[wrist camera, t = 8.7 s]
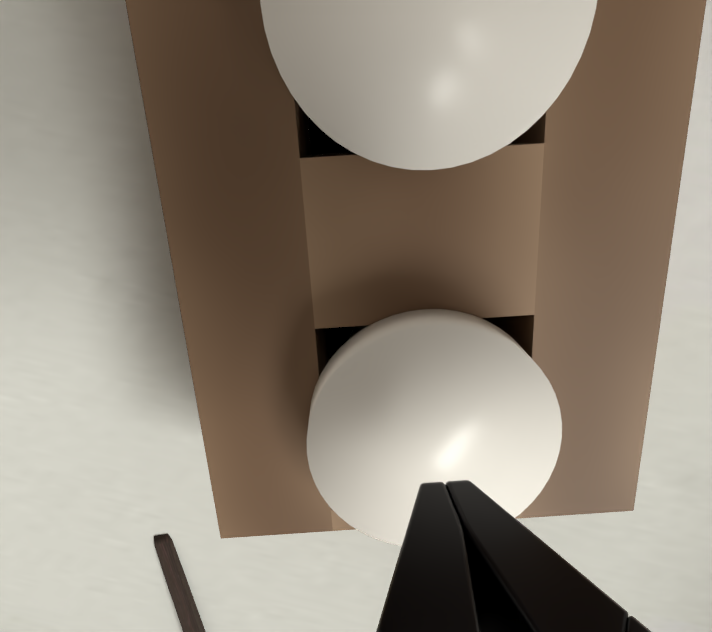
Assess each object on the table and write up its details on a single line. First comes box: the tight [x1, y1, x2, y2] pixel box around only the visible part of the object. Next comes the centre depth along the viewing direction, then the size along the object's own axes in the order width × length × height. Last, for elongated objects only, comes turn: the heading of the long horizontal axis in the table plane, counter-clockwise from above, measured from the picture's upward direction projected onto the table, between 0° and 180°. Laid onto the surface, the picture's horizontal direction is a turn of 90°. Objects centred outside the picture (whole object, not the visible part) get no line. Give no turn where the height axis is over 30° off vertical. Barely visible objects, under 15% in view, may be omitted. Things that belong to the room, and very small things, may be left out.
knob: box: [307, 309, 562, 546], centre depth 12 cm, size 5×5×4 cm
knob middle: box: [260, 0, 597, 170], centre depth 10 cm, size 5×5×4 cm
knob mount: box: [125, 0, 706, 538], centre depth 11 cm, size 10×22×4 cm, turn 3°
